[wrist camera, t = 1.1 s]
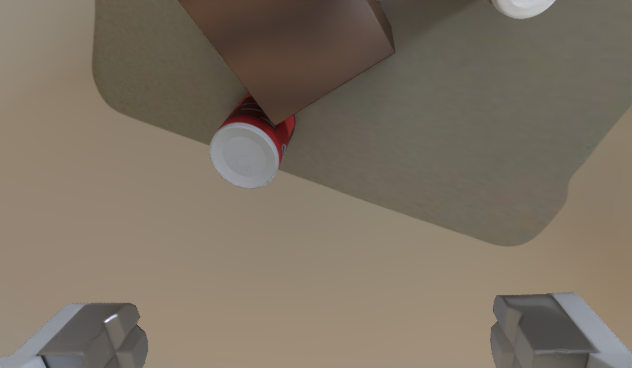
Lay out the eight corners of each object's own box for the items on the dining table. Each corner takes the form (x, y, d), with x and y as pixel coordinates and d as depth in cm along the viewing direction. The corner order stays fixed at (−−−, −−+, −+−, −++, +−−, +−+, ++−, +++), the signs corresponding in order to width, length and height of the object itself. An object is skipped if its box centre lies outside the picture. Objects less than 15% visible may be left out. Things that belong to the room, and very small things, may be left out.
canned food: (257, 151, 52) (232, 196, 43) (227, 100, 49) (194, 138, 40) (306, 134, 50) (290, 178, 41) (279, 79, 46) (255, 115, 37)
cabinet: (209, -30, 40) (163, -19, 32) (311, -123, 35) (289, -141, 26) (293, 89, 47) (274, 126, 38) (391, 26, 41) (395, 52, 32)
